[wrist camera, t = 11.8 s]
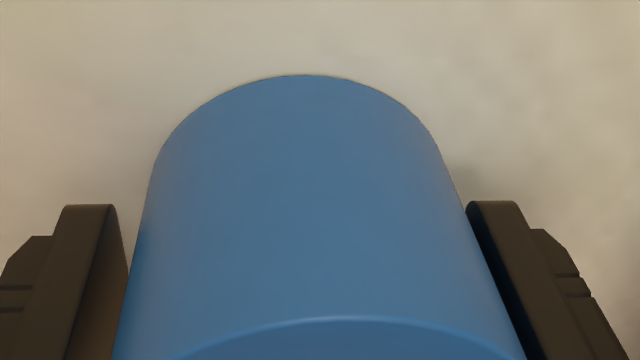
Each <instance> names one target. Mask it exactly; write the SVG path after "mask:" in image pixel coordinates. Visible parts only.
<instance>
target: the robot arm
mask: <svg viewBox="0 0 640 360" xmlns="http://www.w3.org/2000/svg"><path fill="white" fill-rule="evenodd" d="M465 213H466V215H467V218H468V220H469V223H470V225H471V227H472V230H473V232H474V234H475V237H476V239H477V242H478V244H479V246H480V249H481V251H482V254H483V256H484V258H485V261H486V263H487V265H488V268H489V270H490V273H491V275H492V277H493V280H494V282H495V284H496V287H497V289H498V292H499V294H500V296H501V299H502V301H503V303H504V306H505V308H506V311H507V313H508V315H509V318H510V320H511V322H512V325H513V327H514V330H515V332H516V334H517V337H518V339H519V341H520V344H521V346H522V349H523V351H524V353H525V356H526V358H527V360H630V359H629V358H628V356H627V354H626V352H625V351H624V349H623V347H622V346H621V344H620V342H619V340H618V339H617V337H616V335H615V333H614V332H613V330H612V328H611V326H610V325H609V323H608V321H607V319H606V318H605V316H604V314H603V313H602V311H601V309H600V307H599V306H598V304H597V302H596V300H595V299H594V297H593V298H592V297H591V292H590V290H589V288H588V286H587V285H586V283H585V281H584V280H583V278H580V276H579V271H578V269H577V267H576V266H575V264H574V262H573V260H572V259H571V257H570V255H569V253H568V252H567V250H566V249H565V248H564V247H563V246H562V245H561V244H560V243H559V242H557V241H556V240H555V239H554V238H553V237H552V236H551V235H549V234H548V233H547V232H546V231H545V230H544V229H530V228H529V226H528V224H527V222H526V220H525V218H524V216H523V214H522V212H521V211H520V209H519V207H518V205H517V204H516V203H515V202H514V201H471V202H469V204H468V205H467V207H466V210H465ZM127 282H128V267H127V262H126V257H125V252H124V247H123V242H122V237H121V232H120V227H119V222H118V217H117V212H116V209H115V207H114V205H113V204H82V205H66V206H65V207H64V208H63V210H62V212H61V215H60V217H59V220H58V222H57V225H56V227H55V230H54V233H53V235H52V236H32V237H31V238H30V239H29V240H28V241H27V242H25V243H24V244H23V245H22V246H21V247H20V248H19V249H18V250H17V251H16V252H15V253H14V254H13V255H12V256H11V257H10V258H9V259H8V261H7V264H6V266H5V268H4V270H3V272H2V275H1V277H0V360H110V359H111V355H112V350H113V346H114V341H115V336H116V332H117V327H118V323H119V318H120V314H121V309H122V305H123V300H124V295H125V291H126V286H127Z"/></svg>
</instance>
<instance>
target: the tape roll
mask: <svg viewBox="0 0 640 360" xmlns="http://www.w3.org/2000/svg"><path fill="white" fill-rule="evenodd" d="M110 360H527V358H526V356H525V353H524V351H523V349H522V346H521V344H520V341H519V339H518V337H517V334H516V332H515V330H514V327H513V325H512V322H511V320H510V318H509V315H508V313H507V311H506V308H505V306H504V303H503V301H502V299H501V296H500V294H499V292H498V289H497V287H496V284H495V282H494V280H493V277H492V275H491V273H490V270H489V268H488V265H487V263H486V261H485V258H484V256H483V254H482V251H481V249H480V246H479V244H478V242H477V239H476V237H475V234H474V232H473V230H472V227H471V225H470V223H469V220H468V218H467V215H466V213H465V211H464V208H463V206H462V204H461V201H460V199H459V196H458V194H457V192H456V189H455V187H454V185H453V182H452V180H451V177H450V175H449V173H448V170H447V168H446V166H445V163H444V161H443V158H442V156H441V154H440V151H439V149H438V147H437V145H436V143H435V141H434V140H433V138H432V136H431V134H430V133H429V131H428V130H427V129H426V128H425V126H424V125H423V124H422V123H421V122H420V120H419V119H418V118H417V117H416V116H414V115H413V114H412V113H411V112H410V111H409V110H408V109H407V108H405V107H404V106H403V105H401V104H400V103H398V102H397V101H395V100H394V99H392V98H390V97H389V96H387V95H385V94H383V93H381V92H379V91H376V90H374V89H372V88H370V87H367V86H364V85H361V84H358V83H355V82H352V81H348V80H343V79H337V78H332V77H325V76H309V75H301V76H283V77H277V78H271V79H265V80H260V81H257V82H254V83H250V84H247V85H243V86H240V87H238V88H235V89H233V90H231V91H228V92H226V93H224V94H222V95H220V96H218V97H216V98H214V99H213V100H211V101H209V102H208V103H206V104H204V105H203V106H201V107H200V108H199V109H197V110H196V111H195V112H194V113H192V114H191V115H190V116H189V117H187V118H186V119H185V120H184V121H183V122H182V123H181V124H180V125H179V126H178V127H177V128H176V129H175V130H174V132H173V133H172V134H171V135H170V137H169V138H168V140H167V141H166V143H165V144H164V145H163V147H162V149H161V151H160V153H159V155H158V157H157V159H156V161H155V163H154V167H153V170H152V174H151V177H150V181H149V186H148V190H147V195H146V199H145V204H144V209H143V213H142V218H141V222H140V227H139V231H138V236H137V241H136V245H135V250H134V254H133V259H132V263H131V268H130V273H129V277H128V282H127V286H126V291H125V295H124V300H123V305H122V309H121V314H120V318H119V323H118V327H117V332H116V336H115V341H114V346H113V350H112V355H111V359H110Z"/></svg>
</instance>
